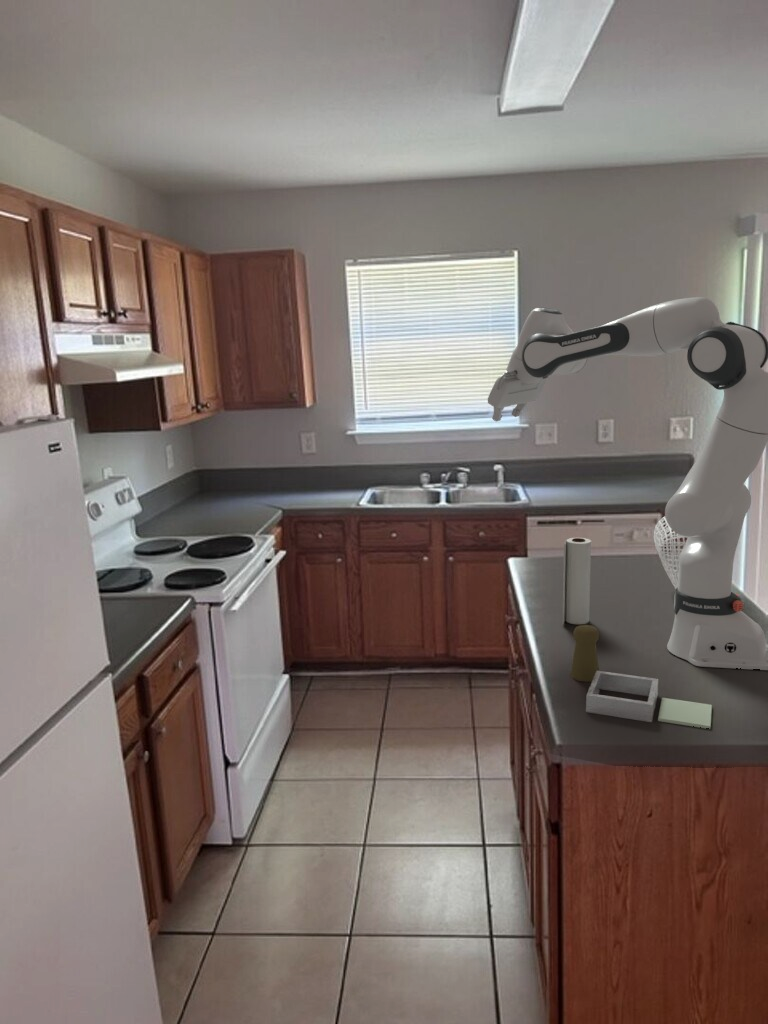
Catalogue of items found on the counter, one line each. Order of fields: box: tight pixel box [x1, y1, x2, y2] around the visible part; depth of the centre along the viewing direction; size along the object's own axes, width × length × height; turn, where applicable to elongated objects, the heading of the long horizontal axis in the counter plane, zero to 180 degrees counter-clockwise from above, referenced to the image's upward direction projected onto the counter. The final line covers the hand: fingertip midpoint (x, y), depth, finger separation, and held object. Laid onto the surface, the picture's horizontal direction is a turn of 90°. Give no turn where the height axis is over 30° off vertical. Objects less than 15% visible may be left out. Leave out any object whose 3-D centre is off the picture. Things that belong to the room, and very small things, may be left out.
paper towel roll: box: [562, 537, 592, 626], centre depth 193 cm, size 7×6×21 cm
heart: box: [653, 515, 688, 590], centre depth 209 cm, size 28×16×22 cm, turn 167°
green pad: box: [657, 697, 713, 730], centre depth 145 cm, size 9×9×1 cm
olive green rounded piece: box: [569, 624, 600, 683], centre depth 162 cm, size 6×6×11 cm
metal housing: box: [585, 670, 659, 723], centre depth 150 cm, size 12×12×4 cm
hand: (505, 417), depth 201 cm, fingers open, 8 cm apart
